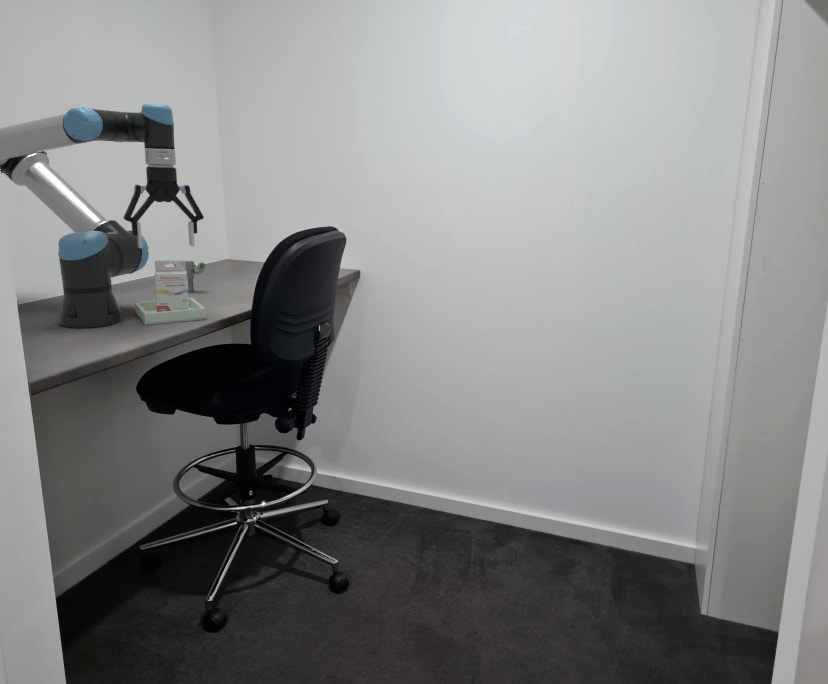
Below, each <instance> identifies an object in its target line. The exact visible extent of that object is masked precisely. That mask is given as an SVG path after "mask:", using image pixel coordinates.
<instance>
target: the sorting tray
mask: <svg viewBox="0 0 828 684" xmlns="http://www.w3.org/2000/svg"><path fill="white" fill-rule="evenodd" d="M188 302H189V309H188V310H176V311H165V312H157V307H156V300H149V301H138V302H137V301H136V302H134V311H135V314H136V315H137V317H138V318H139V319H140V321H142V323H143V325H145V326H150V325H160V324H161V325H162V324H171V323H182V322H191V321H192V322H193V321H201V320H203V319H204V320H207V308H206V307H204V306H203V305H202V304H201V303H200V302H198V301H197V300H195V298H194V297H188Z"/></svg>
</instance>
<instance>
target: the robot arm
mask: <svg viewBox="0 0 828 684" xmlns="http://www.w3.org/2000/svg"><path fill="white" fill-rule="evenodd" d="M174 127H175V122H174V116H173V109H172V108H171V107H170V106H169V105H166V104H154V103H148V104H146V103H143V104H142V106H141V111H140V112H133V111H132V112H131V111H129V112H128V111H125V112H124V111H115V110H105V109H97V108H96V109H95V108H89V107H85V106H83V107H72V108H70V109H69V110H67V112H66V113H62V114H57V115H53V116H49V117H44V118H40V119H35V120H32V121H31V120H30V121H27V122H22V123H17V124H13V125H8V126H4V127H0V169H1V170H0V171H1V173H0V174H4V175H6V177H8V179H9V180H11V181H12V182H13V183H14V184H15V185H17V186H20V187H24V186H25V187H26V188H27V189H28V190H29V191H31V192H32V193H33V195H34V196H35V197H37V198H38V200H39V201H41V202H42V203H43V204H44V205H45V206H46V207H48V208H49V210H50V211H52V213H53V214H55V215H56V217H58V218H59V219H60V220H61V221H62V222H63V223H64V224H66V226H67V227H68V228H69V229H71V230H72V231H73V232H72V233H68V234H65V235H63V236H61V237H60V238H59V240H58V258H59V259H58V260H59V267H60V275H61V282H62V288H63V289H62V290H63V297H62V301H61V304H60V309H59V314H58V319H59V325H60V326H62V327H66V328H77V329H78V328H79V329H80V328H81V329H82V328H87V329H88V328H98V327H105V326H110V325H114V324H117V323H119V322H121V321H122V319H123V318H122V317H123V316H122V310H121V308H120V306H119V304H118V301H117V299H116V297H115V295H114V293H113V285H112V278H116V277H119V276H120V277H121V276H125V275H132V274H134V273H136V272H138V271H141V270H142V269H143V268H144V267H145V266H146V264H147V262H148V260H149V256H150V253H149V245H148V242H147V240H146V239H145V237H144V236H143V235H142V227H141V222H139V221H140V219H142V217H143V216H144V214H145V213H146V212H147V211H148V209H149V208H150V206H151V205H153V203H154V202H156V203H164V202H165V203H171V202H173V203H174V204H175V205H177V207H178V208H179V209H180V210H181V212H183V214H185V215H186V217H187V218H189V220H190V221H187V222H188V223H187V225H188V226H187V227H188V228H187V229H188V245H189V246H191V247H195V234H198V221H202V220H203V219H204V214H203V213H202V211H201V210H200V207H199V206H198V204H197V202H196V201H195V198H194V196H193V194H192V193H191V187H190V186H189V185H188V184H184V185H178V177H177V168H176V167H174V166H176V165H177V163H176V150H175V149H176V148H175V129H174ZM99 141H100V142H115V143H143V146H144V159H145V160H144V161H145V164H146V166H147V167H146V168H145V171H146V172H145V173H146V185H139V184H134V187H133V189H134V192H133V195H132V197H131V199H130V202H129V204H128V206H127V208H126V211H125V213H124V215H123V220H124V221H126V222H130V223H131V230H126V229H125V228H124V227H123V226H122V225H121V224H120V223H118V221H117V220H115V219H106V217H104V216H103V215H102V214H101V213H100V212H99V211H98V210H97V209H96V208H95V207H94V206H92V204H90V203H89V201H87V200H86V199H85V198H84V197H83V195H81V194H80V193H79V192H78V191H76V190H75V188H73V186H71V184H69V183H68V182H67V181H66V180H65V178H63V177H62V176H61V175H60V174H59V173H58V172H57V171H56V170H54V169H53V168H52V167H51V165H50V158H49V157H48V153H47V151H51V150H55V149H60V148H64V147H69V146H70V147H71V146H74V145H79V144H80V145H81V144H85V143H90V142H99ZM31 154H32V155H31ZM145 191H146V192H147V194H148V195H149V196H148V197H147V198H146V199H145V201H144V202H143V203H142V205H141V206H140V208H139V209H138V210H137V211H136V213H135V214H134V215H133V213H134V212H135V210H136V209H135V208H136V206H137V204H138V202H139V199H140V197H141V195H143V194H144V192H145ZM179 191H180V192H181V193H182V194H184V196H185V199H186V200H187V202H188V204H189V206H190V207H191V208H192V211H193V213H194V214H195V215H194V214H193V213H192V211H191V210H189V208H188V207H187V206H186V205H185V204H184V203H183V202H182V201H181V200H180V198H179V197H178V196H177V195H178V194H179Z"/></svg>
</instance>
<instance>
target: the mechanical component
mask: <svg viewBox="0 0 828 684" xmlns="http://www.w3.org/2000/svg"><path fill="white" fill-rule="evenodd" d="M184 261H185V267H186V271H187V284H188V293H193V292H195V291H194V289H195V288H194V279H195V275H200V274H203V273H204V272H205V267H206V263H204V262H201V261H200V262H199V263H198V264H197V266H196V263H195V261H194V260H192V261H191V260H184ZM175 266H176V265H175V264H173V267H175ZM195 270H198V271H195Z"/></svg>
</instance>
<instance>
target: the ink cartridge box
mask: <svg viewBox="0 0 828 684" xmlns="http://www.w3.org/2000/svg"><path fill="white" fill-rule="evenodd" d="M185 261H186V260H184V259H182V260H177V259H176V260H155V261H154V266H155V267H154V269H155V272H154V287H155V288H154V289H155V290H154V291H155V301H156V307H157V312H165V311H176V310H188V309H189V302H188V298H189V289H188V279H187V271H186V267H185ZM174 264H175V265H176V266H167V265H174Z"/></svg>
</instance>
